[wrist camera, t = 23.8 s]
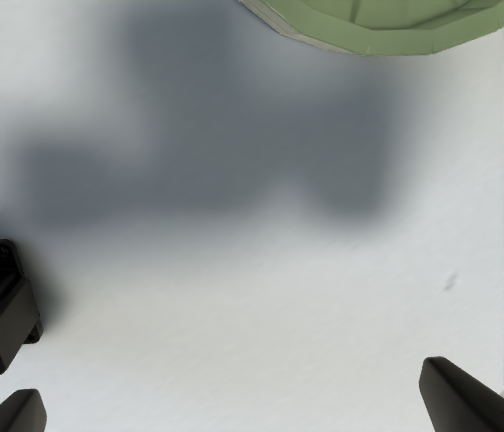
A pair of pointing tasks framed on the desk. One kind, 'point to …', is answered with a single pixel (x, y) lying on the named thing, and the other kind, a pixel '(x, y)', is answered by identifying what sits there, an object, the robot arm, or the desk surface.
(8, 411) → the robot arm
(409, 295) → the desk surface
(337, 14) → the bowl
